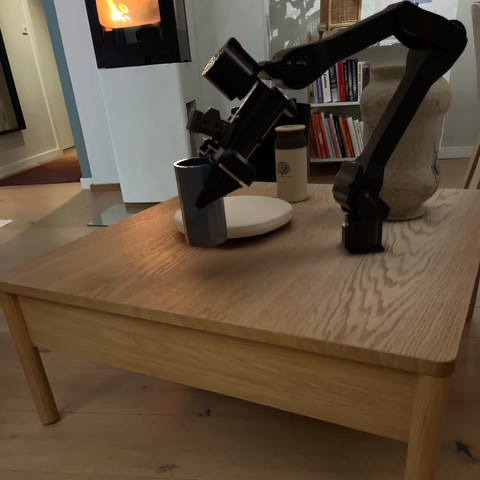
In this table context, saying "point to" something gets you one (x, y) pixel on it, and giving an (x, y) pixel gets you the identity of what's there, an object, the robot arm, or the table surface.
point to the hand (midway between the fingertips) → (193, 202)
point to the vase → (407, 142)
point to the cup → (196, 220)
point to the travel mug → (291, 163)
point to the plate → (249, 215)
